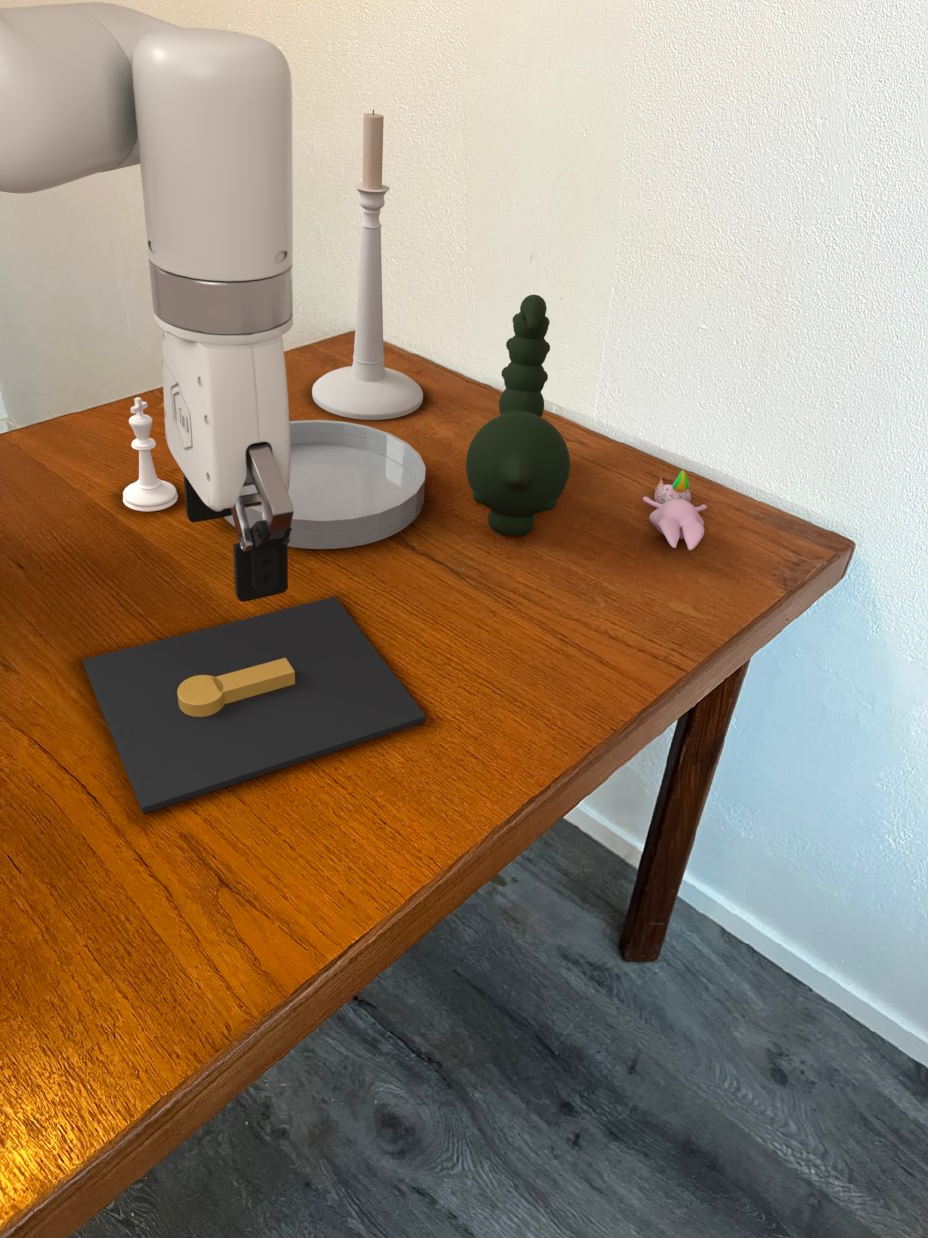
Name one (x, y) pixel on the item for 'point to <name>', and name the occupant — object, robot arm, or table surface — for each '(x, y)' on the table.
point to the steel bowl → (347, 485)
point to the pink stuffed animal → (677, 513)
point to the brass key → (232, 687)
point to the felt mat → (246, 701)
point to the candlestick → (369, 314)
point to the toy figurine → (520, 435)
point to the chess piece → (146, 468)
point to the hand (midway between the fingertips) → (235, 554)
